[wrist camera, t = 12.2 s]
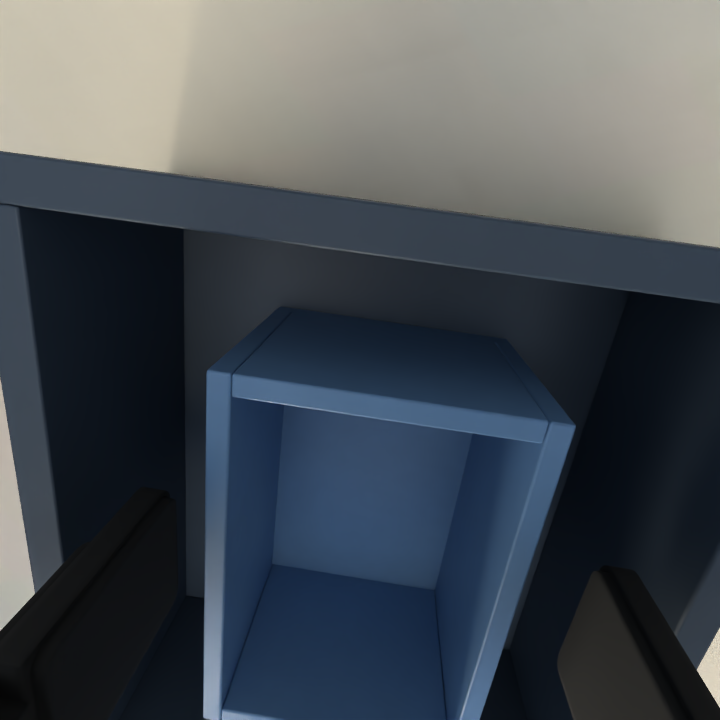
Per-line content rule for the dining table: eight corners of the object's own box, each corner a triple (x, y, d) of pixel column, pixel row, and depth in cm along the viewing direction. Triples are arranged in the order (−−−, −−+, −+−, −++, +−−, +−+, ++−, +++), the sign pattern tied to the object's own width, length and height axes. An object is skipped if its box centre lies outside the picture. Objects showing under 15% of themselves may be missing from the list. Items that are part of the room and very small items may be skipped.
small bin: (279, 305, 14) (205, 370, 8) (507, 338, 13) (577, 425, 8) (262, 560, 17) (202, 718, 12) (444, 589, 17) (465, 765, 12)
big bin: (166, 172, 13) (-39, 146, 7) (664, 239, 13) (916, 274, 7) (174, 594, 19) (65, 786, 13) (520, 652, 18) (582, 881, 12)
